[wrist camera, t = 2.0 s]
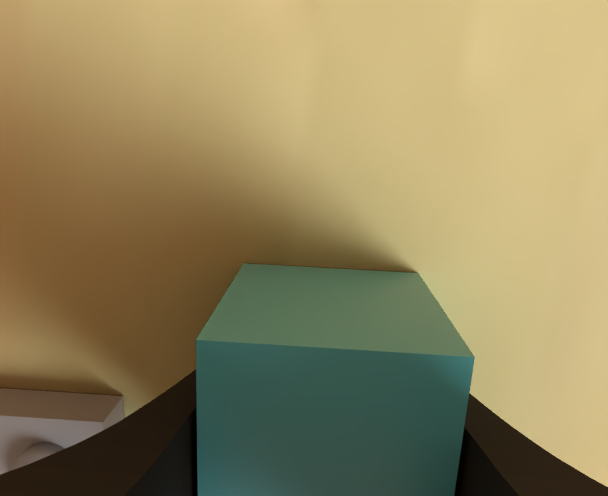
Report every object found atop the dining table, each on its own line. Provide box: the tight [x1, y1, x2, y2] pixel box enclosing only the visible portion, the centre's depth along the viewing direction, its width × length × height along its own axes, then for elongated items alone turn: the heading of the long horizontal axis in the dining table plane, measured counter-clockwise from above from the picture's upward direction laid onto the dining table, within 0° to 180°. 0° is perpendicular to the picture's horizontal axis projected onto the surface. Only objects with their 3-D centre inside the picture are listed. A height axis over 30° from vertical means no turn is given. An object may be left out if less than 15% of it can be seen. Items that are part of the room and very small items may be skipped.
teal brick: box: [196, 263, 474, 496], centre depth 10 cm, size 6×4×4 cm
